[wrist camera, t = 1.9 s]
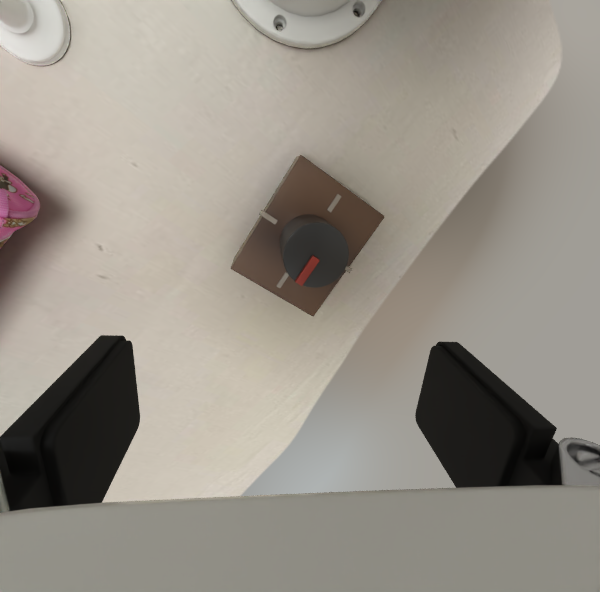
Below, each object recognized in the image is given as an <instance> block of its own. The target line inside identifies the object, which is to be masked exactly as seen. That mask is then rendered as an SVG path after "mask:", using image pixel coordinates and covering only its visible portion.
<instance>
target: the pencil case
mask: <svg viewBox="0 0 600 592" xmlns="http://www.w3.org/2000/svg"><path fill="white" fill-rule="evenodd" d="M39 209H40V202H39V200H38V198H37V196H36V195H35V194H34V193H33V192H32V191H31V190H30V189H29V188H28V187H27V186H26V185H25V184H24V183H23V182H22V181H21V180H20V179H19V178H17V177H16V176H15V175H13V174H12V173H11V172H9V171H8V170H6V169H5V168H3V167H2V166H1V165H0V249H1V247H2V246H3V245H4V244H5V243H6V241H7V240H8V239H9V238H10V237H11V235H12V234H13V232H14V231H16V230H18V229H20V228H22V227H24V226H26V225H27V224H29V223H30V222H32V221H33V220H34V219H35V218H36V217H37V215H38V212H39Z"/></svg>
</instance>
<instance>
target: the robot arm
mask: <svg viewBox="0 0 600 592" xmlns="http://www.w3.org/2000/svg"><path fill="white" fill-rule="evenodd" d="M232 1H233V3H234V4H235V6H236V7H237V8H238V10H239V11H240V13H241V14H242V15H243V16H244V17H245V18H246V19H247V20H248V21H249V22H250V23H251V24H252V25H253V26H254V27H255V28H256V29H257V30H259V31H260V32H262V33H263V34H265V35H266V36H268V37H269V38H271V39H273V40H275V41H278V42H280V43H283V44H285V45H288V46H293V47H299V48H320V47H324V46H327V45H331V44H334V43H337V42H339V41H341V40H342V39H344V38H346V37H348V36H350V35H351V34H353V33H354V32H355V31H356V30H357V29H358V28H360V27H361V26H362V25H363V24H364V23H365V22H366V21H367V20H368V18H369V17H370V16H371V15H372V13H373V12H374V11H375V10H376V8H377V7H378V5H379V4H380V2H381V1H382V0H232ZM353 11H357V12H358V13H359V17H356V16H355V15H354V13H353ZM278 24H281V25H282V27H283V29H282V30H281V31H278V30H277V29H276V25H278ZM139 422H140V412H139V402H138V393H137V384H136V375H135V365H134V356H133V347H132V343H131V341H126V339H125V337H124V336H105V335H102V336H100V337H99V338H98V339H97V340H96V341H95V342H94V343H93V344H92V345H91V346H90V347H89V348H88V349H87V350H86V351H85V352H84V353H83V354H82V355H81V356H80V357H79V358H78V359H77V360H76V361H75V362H74V363H73V364H72V365H71V366H70V367H69V368H68V369H67V370H66V371H65V372H64V373H63V374H62V375H61V376H60V377H59V378H58V379H57V380H56V381H55V382H54V383H53V384H52V385H51V386H50V387H49V388H48V389H47V390H46V391H45V392H44V393H43V394H42V395H41V396H40V397H39V398H38V399H37V400H36V401H35V402H34V403H33V404H32V405H31V406H30V407H29V408H28V409H27V410H26V411H25V412H24V413H23V414H22V415H21V416H20V417H19V418H18V419H17V420H16V421H15V422H14V423H13V424H12V425H11V426H10V427H9V428H8V429H7V430H6V431H5V432H4V433H3V434H2V436H1V437H0V592H600V445H598V444H595V443H593V442H590V441H587V440H583V439H577V438H564V439H563V440H561V441H560V442H559V444H558V443H557V442H556V441H555V440H554V439H552V438H553V436H554V434H555V431H556V429H557V428H556V427H555V426H554V425H552V424H551V423H550V422H549V421H548V420H547V419H545V418H544V417H543V416H542V415H541V414H540V413H539V412H538V411H536V410H535V409H534V408H533V407H532V406H531V405H529V404H528V403H527V402H526V401H525V400H524V399H522V398H521V397H520V396H519V395H518V394H517V393H516V392H514V391H513V390H512V389H511V388H510V387H509V386H507V385H506V384H505V383H504V382H503V381H502V380H501V379H499V378H498V377H497V376H496V375H495V374H494V373H492V372H491V371H490V370H489V369H488V368H487V367H485V365H483V364H482V363H481V362H480V361H479V360H478V359H476V358H475V357H474V356H473V355H472V354H471V353H470V352H468V351H467V350H466V349H465V348H464V347H463V346H461V345H460V344H459V343H457V342H438V343H437V344H436V346H433V347H432V348H431V351H430V355H429V359H428V363H427V368H426V372H425V376H424V380H423V384H422V388H421V393H420V397H419V401H418V405H417V409H416V422H417V424H418V426H419V428H420V429H421V431H422V433H423V434H424V436H425V438H426V439H427V441H428V442H429V444H430V446H431V447H432V449H433V451H434V452H435V454H436V455H437V457H438V459H439V460H440V462H441V464H442V465H443V467H444V468H445V470H446V471H447V473H448V475H449V477H450V478H451V480H452V481H453V483H454V485H455V486H456V488H438V489H411V490H410V489H409V490H408V489H407V490H381V491H355V492H329V493H308V494H307V493H305V494H280V495H260V496H258V495H257V496H236V497H214V498H193V499H171V500H149V501H129V502H108V503H102V501H103V499H104V497H105V495H106V493H107V491H108V489H109V486H110V484H111V482H112V480H113V478H114V476H115V474H116V472H117V470H118V468H119V466H120V464H121V462H122V460H123V458H124V456H125V454H126V452H127V450H128V448H129V445H130V443H131V441H132V439H133V437H134V435H135V433H136V431H137V429H138V426H139Z"/></svg>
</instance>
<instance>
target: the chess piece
mask: <svg viewBox="0 0 600 592" xmlns="http://www.w3.org/2000/svg"><path fill="white" fill-rule="evenodd" d="M69 41H70V25H69V21H68V17H67V14H66V12H65V9H64V7H63V5H62V4H61V2H60V1H59V0H0V45H1V46H2V47H3V48H4V49H5V50H6V51H7V52H9V53H10V54H12V55H13V56H14V57H16V58H17V59H19V60H21V61H23V62H25V63H28V64H31V65H36V66H45V65H50V64H53V63H55V62H56V61H58V60H59V59H60V58H61V57H62V56H63V55H64V54H65V52H66V50H67V48H68V45H69Z"/></svg>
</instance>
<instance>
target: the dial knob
mask: <svg viewBox="0 0 600 592" xmlns="http://www.w3.org/2000/svg"><path fill="white" fill-rule="evenodd" d="M280 250H281V254H282V259H283V263H284V267H285V269H286V271H287V273H288V274H289V276H290V277H291V278H292V279H293V280H294V281H295V282H296V283H298V284H299V285H301V286H306V287H311V288H318V287H323V286H326V285H329V284H331V283H332V282H334V281H335V280H337V279H338V278H339V277H340V276H341V274H342V273H343V272H344V270H345V268H346V266H347V263H348V258H349V249H348V245H347V242H346V240H345V238H344V236H343V235H342V233H341V232H340V231H339V230H337V229H336V228H335V227H334V226H332V225H331V224H330V223H328V222H327V221H326V220H324V219H323V218H321V217H319V216H316V215H311V214H305V215H300V216H297V217H295V218H294V219H292V220H291V221H289V222H288V223H287V224H286V226H285V227H284V229H283V231H282V233H281V236H280Z"/></svg>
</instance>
